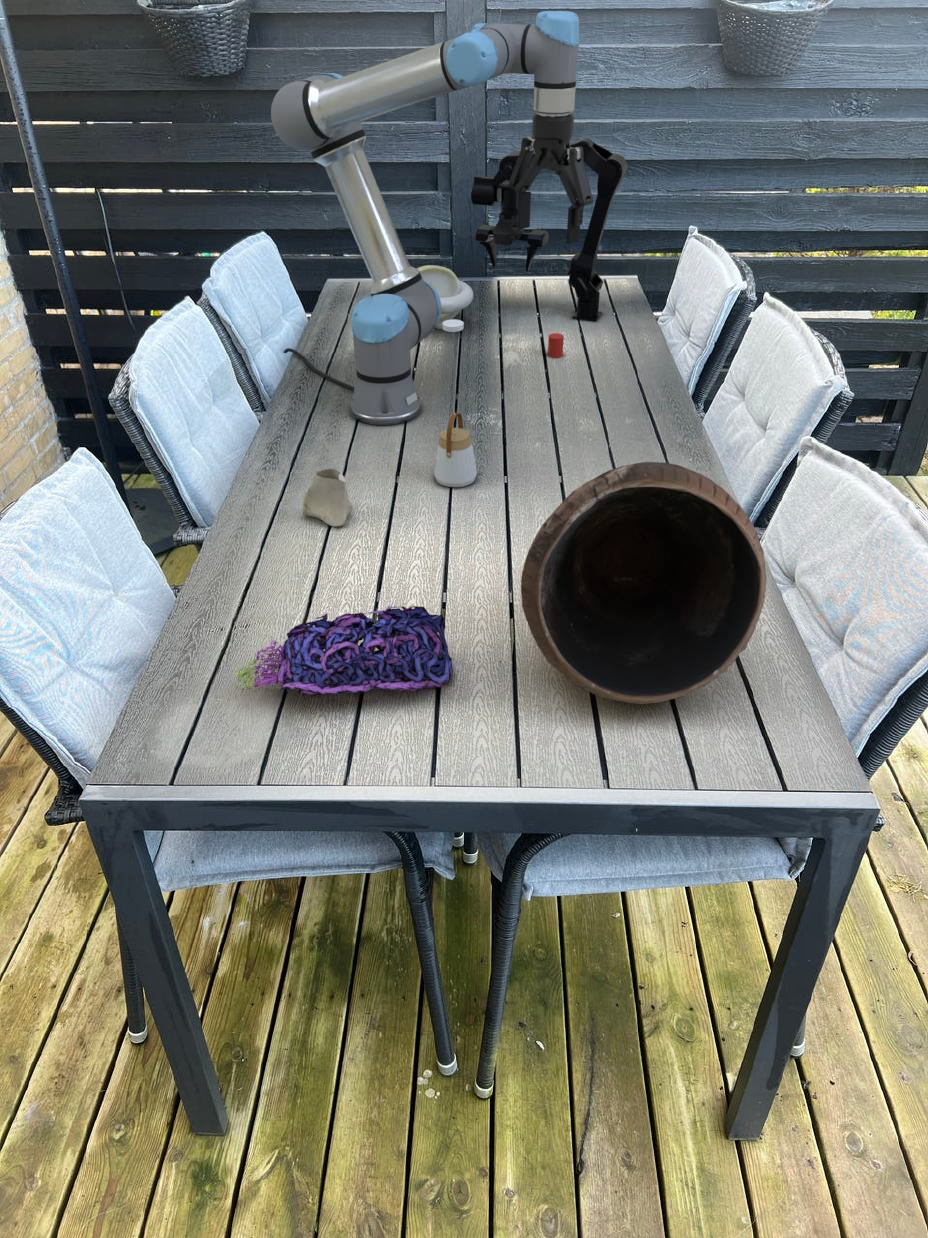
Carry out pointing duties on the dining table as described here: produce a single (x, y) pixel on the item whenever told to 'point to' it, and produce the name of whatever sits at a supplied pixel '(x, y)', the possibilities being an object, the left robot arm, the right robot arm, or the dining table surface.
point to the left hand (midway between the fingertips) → (547, 235)
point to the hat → (447, 291)
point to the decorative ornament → (358, 654)
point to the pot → (644, 583)
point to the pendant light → (455, 442)
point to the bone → (327, 498)
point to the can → (555, 345)
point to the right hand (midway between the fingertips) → (510, 269)
